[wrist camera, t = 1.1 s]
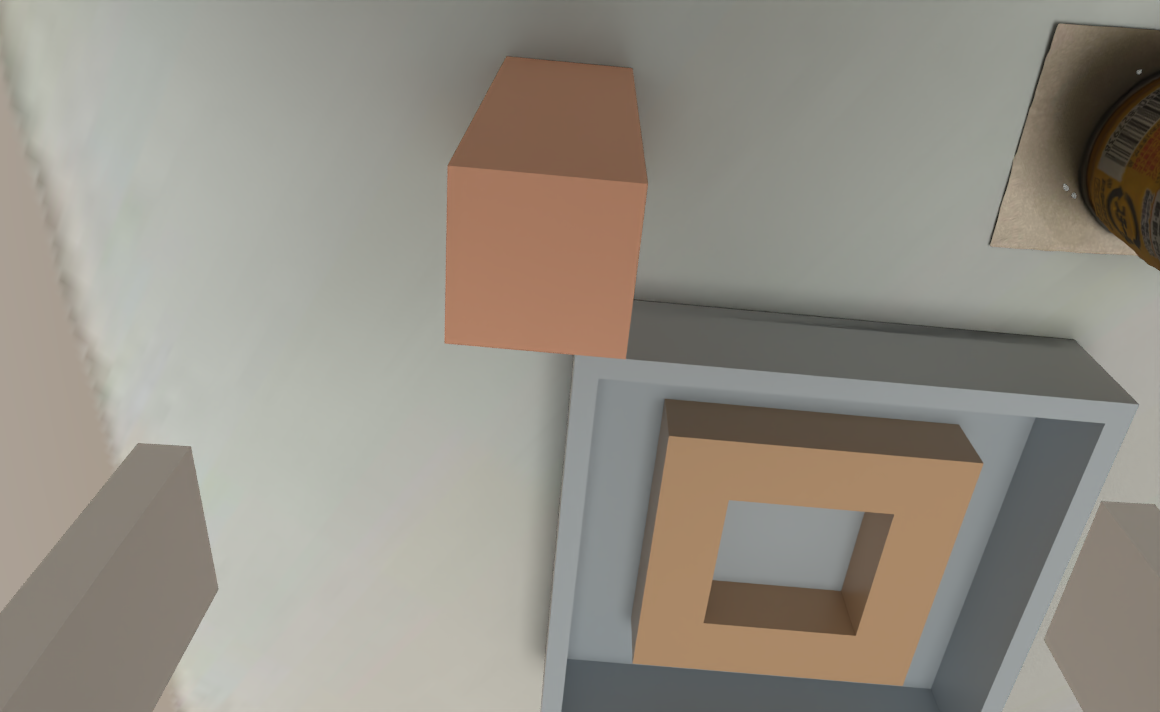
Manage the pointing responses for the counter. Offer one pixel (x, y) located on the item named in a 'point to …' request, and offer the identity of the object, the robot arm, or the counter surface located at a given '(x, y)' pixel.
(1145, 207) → the condiment
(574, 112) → the peg
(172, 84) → the counter surface
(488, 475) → the counter surface
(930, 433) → the tray box
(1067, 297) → the counter surface
